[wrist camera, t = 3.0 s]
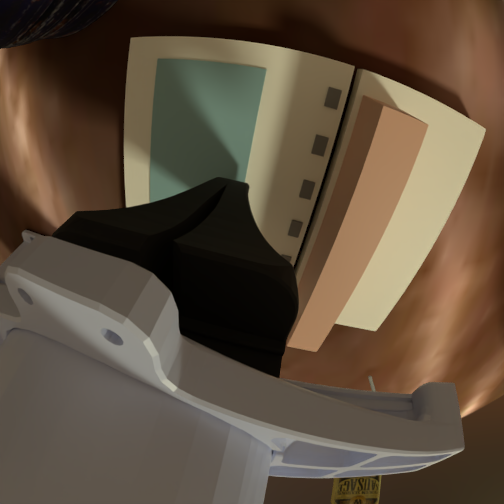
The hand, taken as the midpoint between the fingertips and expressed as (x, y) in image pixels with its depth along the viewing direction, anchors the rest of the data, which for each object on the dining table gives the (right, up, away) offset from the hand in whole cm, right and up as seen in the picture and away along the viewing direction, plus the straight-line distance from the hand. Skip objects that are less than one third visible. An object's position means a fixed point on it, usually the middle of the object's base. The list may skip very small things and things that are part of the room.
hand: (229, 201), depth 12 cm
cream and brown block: (+7, 0, +1) cm, 7 cm away
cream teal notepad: (-1, +1, +2) cm, 2 cm away
